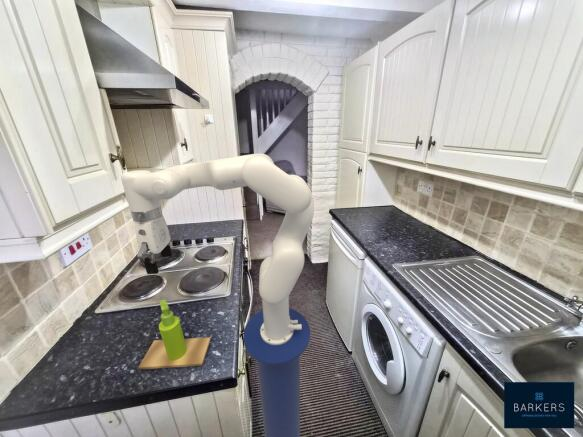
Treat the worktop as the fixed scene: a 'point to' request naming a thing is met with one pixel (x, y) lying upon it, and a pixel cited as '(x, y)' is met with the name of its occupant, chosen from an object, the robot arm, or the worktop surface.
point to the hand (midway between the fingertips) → (160, 264)
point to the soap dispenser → (171, 333)
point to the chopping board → (192, 357)
